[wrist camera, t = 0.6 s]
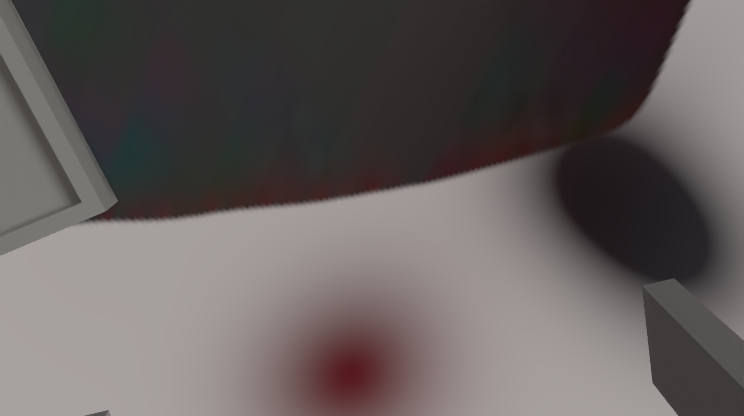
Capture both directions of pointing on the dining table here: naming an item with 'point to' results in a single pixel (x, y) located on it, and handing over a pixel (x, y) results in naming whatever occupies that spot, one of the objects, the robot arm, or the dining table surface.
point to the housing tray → (40, 147)
